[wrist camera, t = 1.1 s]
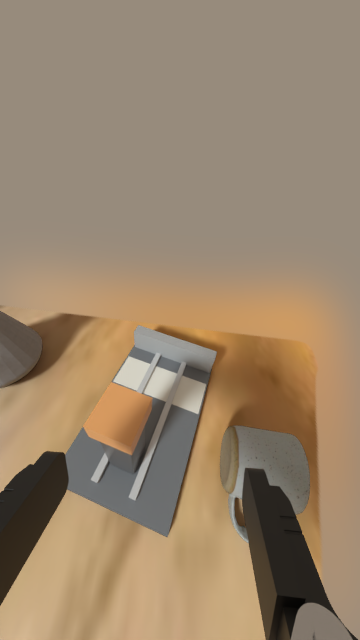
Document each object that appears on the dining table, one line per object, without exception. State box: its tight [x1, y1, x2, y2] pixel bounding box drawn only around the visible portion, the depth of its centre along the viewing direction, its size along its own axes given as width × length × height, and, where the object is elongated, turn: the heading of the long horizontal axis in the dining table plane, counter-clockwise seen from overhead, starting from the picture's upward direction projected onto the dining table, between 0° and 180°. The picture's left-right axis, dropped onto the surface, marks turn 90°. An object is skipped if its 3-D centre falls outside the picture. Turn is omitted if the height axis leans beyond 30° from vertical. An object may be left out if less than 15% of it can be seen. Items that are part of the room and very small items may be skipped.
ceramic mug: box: [220, 426, 310, 543], centre depth 24 cm, size 11×8×8 cm
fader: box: [83, 382, 153, 475], centre depth 21 cm, size 4×4×13 cm
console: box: [65, 325, 217, 537], centre depth 30 cm, size 22×14×5 cm, turn 161°
